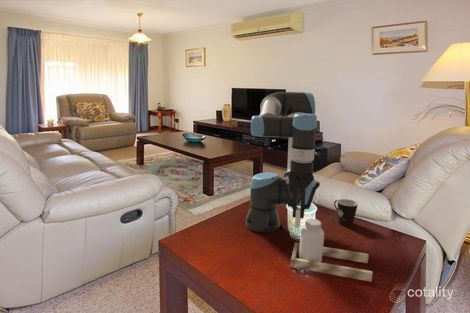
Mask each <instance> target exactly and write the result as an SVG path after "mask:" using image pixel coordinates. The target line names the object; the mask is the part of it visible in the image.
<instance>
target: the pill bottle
mask: <svg viewBox="0 0 470 313" xmlns="http://www.w3.org/2000/svg"><path fill="white" fill-rule="evenodd" d="M304 222H305V223H304V226H303V227H302V228H301V230H300V238H299V243H300V247H299V252H298V259H304V260H310V261H316V262H321V263H322V260H323V256H322V252H323V247H324V242H325V231H324V230H323V229H322V222H321V221H320V220H319V219H317V218H308V219H306V220H305V221H304Z"/></svg>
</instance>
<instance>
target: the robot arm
mask: <svg viewBox="0 0 470 313" xmlns="http://www.w3.org/2000/svg"><path fill="white" fill-rule="evenodd" d="M259 108H260V113H259V115H252V117H251V120H250V134H251V136H253V137H260V138H285V139H288V146H287V147H288V148H287V170H286V171H285V172H284V173H283V177H280V175H279V174H278V173H276V172H260V173H256V174H254V175H253V176H252V177H251V180H250V186H249V187H250V198H249V200H250V201H249V210H248V212H247V215H246V218H245V228H247V229H249V230H251V231H253V232H257V233H273V232H276V231H278V230H279V229H280V228H281V220H280V218H279V213H278V209H277V208H278V205H280V206H287V207H290V208H292V218H294V219H295V222H294V228H296V229H300V227H301V220H303V219H304V218H305V210H310V208H311V205H312V202H313V200H314V196H315V193H316V191H317V190H318V188H319V187H320V185H321V181H318V180H316V179H315V176H314V164H315V163H314V160H315V150H316V148H315V147H316V146H315V145H316V136H317V135H316V133H317V127H318V123H317V122H318V116H317V115H316V100H315V96H314V93H311V92H305V91H300V92H298V91H297V92H295V91H278V92H273V93H270V94H269V95H266V96H265V97H264V98H263V99H262V101H261V103H260V106H259ZM287 204H288V205H287ZM298 206H299V207H298Z"/></svg>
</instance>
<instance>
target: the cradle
mask: <svg viewBox="0 0 470 313" xmlns="http://www.w3.org/2000/svg"><path fill="white" fill-rule="evenodd" d="M299 247H300V242H297V241H296V242H294V245H293V250H292V254H291V258H290V268H292V269H293V268H294V269H298V270H304V271H310V272H316V273H321V274H327V275H333V276H338V277H344V278H350V279H353V280H354V279H355V280H360V281H366V282H371V283H372V281H373V271H371V270H367V269H362V268H361V269H360V268H356V267H355V268H354V267H350V266H343V265H338V264H332V263H326V262H322V261H321V262H316V261H310V260H304V259H299V257H298V258H297V254H298V253H299ZM322 257H328V258H333V259H339V260H347V261H352V262H358V263H364V264H368V262H369V253H365V252H359V251H353V250H346V249H340V248H333V247H326V246H323V252H322Z"/></svg>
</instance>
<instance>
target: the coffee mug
mask: <svg viewBox="0 0 470 313" xmlns="http://www.w3.org/2000/svg"><path fill="white" fill-rule="evenodd" d="M336 204H337V205H336ZM358 204H359V203H358V202H356V201H355V200H352V199H348V198H341V199H337V200H334V203H333V205H334V208H335V209H336V211H337V222H338V224H339V225H341V226H344V227H351V226H354V222H355V217H356V215H357V214H356V213H357V210H358V207H359V206H358Z"/></svg>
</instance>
